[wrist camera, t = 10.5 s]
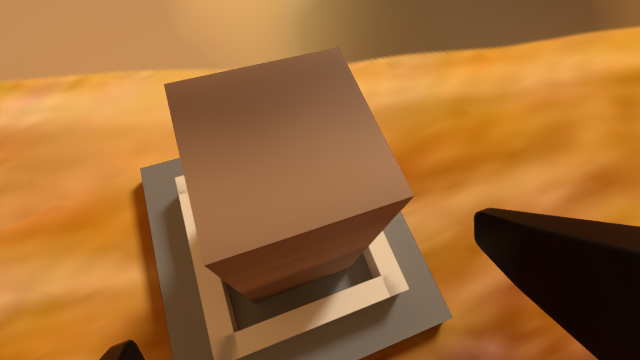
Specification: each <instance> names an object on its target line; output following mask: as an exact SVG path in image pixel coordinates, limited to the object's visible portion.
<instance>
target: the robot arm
mask: <svg viewBox="0 0 640 360" xmlns="http://www.w3.org/2000/svg"><path fill="white" fill-rule="evenodd" d="M474 238H475V241H476V243H477V245H478V246H479V247H480V248H481V250H482V251H483V252H484V253H485V254H486V255H487V256H488V257H489V258H490V259H491V260H492V261H493V262H494V263H495V264H496V265H497V267H498V268H499V269H500V270H501V271H502V272H503V273H504V274H505V275H506V276H507V277H508V278H509V279H510V280H511V281H512V282H513V283H514V284H515V285H516V286H517V287H518V288H519V289H520V290H521V291H522V292H523V293H524V294H525V295H526V296H527V297H528V298H530V299H531V300H532V301H533V302H534V303H535V304H536V305H537V306H539V307H540V308H541V309H542V310H543V311H544V312H545V313H546V314H548V315H549V316H550V317H551V318H552V319H553V320H554V321H555V322H557V323H558V324H559V325H560V326H561V327H562V328H563V329H564V330H566V331H567V332H568V333H569V334H570V335H571V336H572V337H573V338H575V339H576V340H577V341H578V342H579V343H580V344H581V345H582V346H584V347H585V348H586V349H587V350H588V351H589V352H590V353H591V354H593V355H594V356H595V357H596V358H597V359H598V360H640V227H638V226H631V225H623V224H615V223H607V222H599V221H591V220H583V219H575V218H568V217H560V216H552V215H544V214H536V213H528V212H520V211H512V210H505V209H497V208H486V209H483V210H480V211H478V212H476V213H475V215H474ZM99 360H145V359H144V357H143V355H142V353H141V352H140V350H139V348H138V346H137V344H136V343H135V342H134V341H133V340H127V341H125V342H122V343H119V344H116V345H114V346H112V347H110V348H109V349H108V351H107V352H106V353H105V354H104V355H103V356H102V357H101V358H100V359H99Z"/></svg>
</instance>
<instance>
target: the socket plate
mask: <svg viewBox="0 0 640 360" xmlns="http://www.w3.org/2000/svg"><path fill="white" fill-rule="evenodd" d="M140 171H141V176H142V182H143V188H144V194H145V200H146V206H147V212H148V217H149V223H150V229H151V235H152V241H153V247H154V253H155V258H156V264H157V270H158V276H159V282H160V288H161V294H162V299H163V305H164V311H165V317H166V323H167V329H168V335H169V340H170V346H171V352H172V358H173V360H359V359H361V358H363V357H365V356H368V355H370V354H372V353H374V352H377V351H379V350H381V349H383V348H386V347H388V346H390V345H393V344H395V343H397V342H399V341H402V340H404V339H406V338H408V337H411V336H413V335H415V334H417V333H420V332H422V331H424V330H427V329H429V328H431V327H433V326H436V325H438V324H440V323H442V322H445V321H447V320H449V319H451V318H453V317H452V315H451V313H450V311H449V309H448V307H447V305H446V303H445V301H444V299H443V297H442V295H441V293H440V291H439V289H438V287H437V285H436V283H435V280H434V278H433V276H432V274H431V272H430V270H429V268H428V266H427V264H426V262H425V260H424V258H423V256H422V254H421V252H420V250H419V248H418V246H417V244H416V242H415V239H414V237H413V235H412V233H411V231H410V229H409V227H408V225H407V223H406V221H405V219H404V217H403V215H402V213H401V211H400V212H399V213H398V214H397V215H396V216H395V218H394V219H393V220H392V221H391V222H390V223H389V224H388V225H387V226H386V228H385V229H384V230H383V231H382V232H381V233H380V234H379V235H378V236H377V238H376V239H375V240H374V241H373V242H372V243H371V244H370V245H369V246H368V247H367V249H366V250H365V251H364V252H363V253H362V254H361V255H360V256H359V257H358V259H357V260H356V261H355V262H354V263H353V264H352V265H351V266H350V267H349V268H348V269H346V270H343V271H340V272H337V273H335V274H332V275H329V276H327V277H324V278H321V279H318V280H316V281H313V282H310V283H307V284H305V285H302V286H299V287H297V288H294V289H291V290H288V291H286V292H283V293H280V294H278V295H275V296H272V297H269V298H267V299H264V300H261V301H258V302H256V303H253V302H252V301H250V300H249V299H248V298H246V297H245V296H244V295H242V294H241V293H240V292H238V291H237V290H236V289H234V288H233V287H232V286H230V285H229V284H228V283H226V282H225V281H224V280H222V279H221V278H220V277H218V276H217V275H216V274H214V273H213V272H212V271H210V270H209V269H208V268H206V267H205V266H204V264H203V259H202V255H201V250H200V246H199V241H198V237H197V232H196V228H195V223H194V218H193V214H192V209H191V205H190V200H189V196H188V191H187V187H186V182H185V177H184V173H183V168H182V164H181V159H180V158H178V159H174V160H170V161H167V162H163V163H159V164H155V165H151V166H148V167H144V168H140Z"/></svg>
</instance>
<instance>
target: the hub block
mask: <svg viewBox="0 0 640 360" xmlns="http://www.w3.org/2000/svg"><path fill="white" fill-rule="evenodd" d="M164 86H165V91H166V96H167V100H168V105H169V109H170V114H171V118H172V123H173V127H174V132H175V137H176V141H177V146H178V150H179V155H180V159H181V164H182V168H183V173H184V177H185V182H186V187H187V191H188V196H189V200H190V205H191V209H192V214H193V218H194V223H195V228H196V232H197V237H198V241H199V246H200V250H201V255H202V259H203V264H204V266H205V267H206V268H208V269H209V270H210V271H212V272H213V273H214V274H216V275H217V276H218V277H220V278H221V279H222V280H224V281H225V282H226V283H228V284H229V285H230V286H232V287H233V288H234V289H236V290H237V291H238V292H240V293H241V294H242V295H244V296H245V297H246V298H248V299H249V300H250V301H252V302H253V303H256V302H258V301H261V300H264V299H267V298H269V297H272V296H275V295H278V294H280V293H283V292H286V291H288V290H291V289H294V288H297V287H299V286H302V285H305V284H307V283H310V282H313V281H316V280H318V279H321V278H324V277H327V276H329V275H332V274H335V273H337V272H340V271H343V270H346V269H348V268H349V267H350V266H351V265H352V264H353V263H354V262H355V261H356V260H357V259H358V257H359V256H360V255H361V254H362V253H363V252H364V251H365V250H366V249H367V247H368V246H369V245H370V244H371V243H372V242H373V241H374V240H375V239H376V238H377V236H378V235H379V234H380V233H381V232H382V231H383V230H384V229H385V228H386V226H387V225H388V224H389V223H390V222H391V221H392V220H393V219H394V218H395V216H396V215H397V214H398V213H399V212H400V211H401V210H402V209H403V208H404V207H405V205H406V204H407V203H408V202H409V201H410V200H411V199H412V198H413V197H414V195H413V193H412V191H411V189H410V187H409V185H408V183H407V181H406V179H405V177H404V175H403V173H402V171H401V169H400V167H399V165H398V163H397V161H396V159H395V157H394V155H393V153H392V151H391V149H390V147H389V145H388V144H387V142H386V140H385V138H384V136H383V134H382V132H381V130H380V128H379V126H378V124H377V122H376V120H375V118H374V116H373V114H372V112H371V110H370V108H369V106H368V104H367V102H366V100H365V98H364V96H363V94H362V92H361V90H360V88H359V86H358V84H357V82H356V80H355V79H354V77H353V75H352V73H351V71H350V69H349V67H348V65H347V63H346V61H345V59H344V57H343V55H342V53H341V51H340V49H339V48H333V49H329V50H324V51H319V52H314V53H309V54H305V55H300V56H295V57H290V58H286V59H282V60H277V61H271V62H267V63H262V64H257V65H252V66H248V67H243V68H238V69H234V70H229V71H224V72H219V73H215V74H210V75H205V76H200V77H196V78H191V79H186V80H181V81H177V82H172V83H167V84H164Z"/></svg>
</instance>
